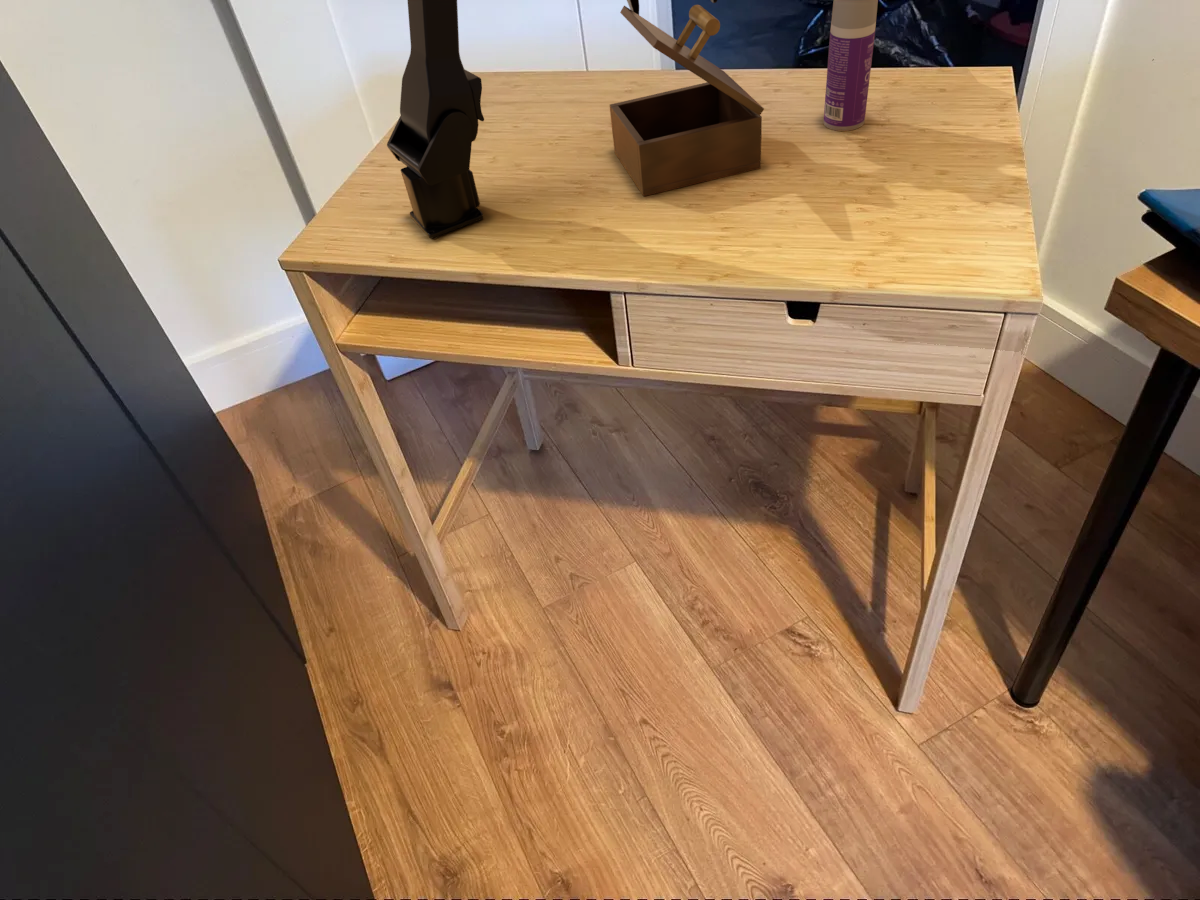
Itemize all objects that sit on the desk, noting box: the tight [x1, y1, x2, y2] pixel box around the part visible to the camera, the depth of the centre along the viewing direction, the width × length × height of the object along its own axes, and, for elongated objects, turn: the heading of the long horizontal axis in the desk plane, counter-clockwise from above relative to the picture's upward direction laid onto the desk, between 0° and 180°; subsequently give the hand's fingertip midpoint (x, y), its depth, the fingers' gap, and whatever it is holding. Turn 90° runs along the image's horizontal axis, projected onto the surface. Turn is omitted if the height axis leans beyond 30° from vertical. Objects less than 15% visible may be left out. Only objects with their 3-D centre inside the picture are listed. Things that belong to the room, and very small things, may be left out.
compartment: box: [609, 81, 763, 197], centre depth 92 cm, size 14×12×6 cm
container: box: [822, 0, 879, 132], centre depth 91 cm, size 5×5×15 cm
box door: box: [620, 4, 765, 115], centre depth 85 cm, size 14×12×5 cm
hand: (675, 10), depth 92 cm, fingers open, 9 cm apart
